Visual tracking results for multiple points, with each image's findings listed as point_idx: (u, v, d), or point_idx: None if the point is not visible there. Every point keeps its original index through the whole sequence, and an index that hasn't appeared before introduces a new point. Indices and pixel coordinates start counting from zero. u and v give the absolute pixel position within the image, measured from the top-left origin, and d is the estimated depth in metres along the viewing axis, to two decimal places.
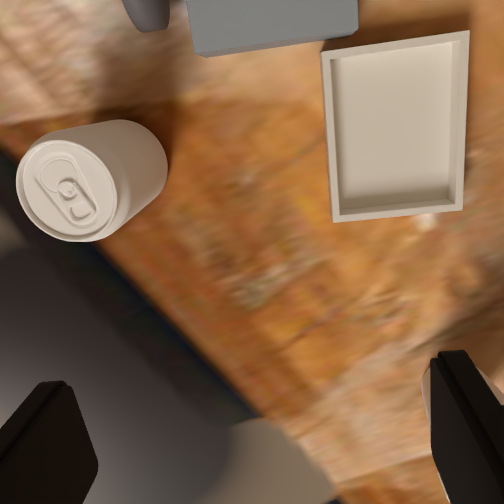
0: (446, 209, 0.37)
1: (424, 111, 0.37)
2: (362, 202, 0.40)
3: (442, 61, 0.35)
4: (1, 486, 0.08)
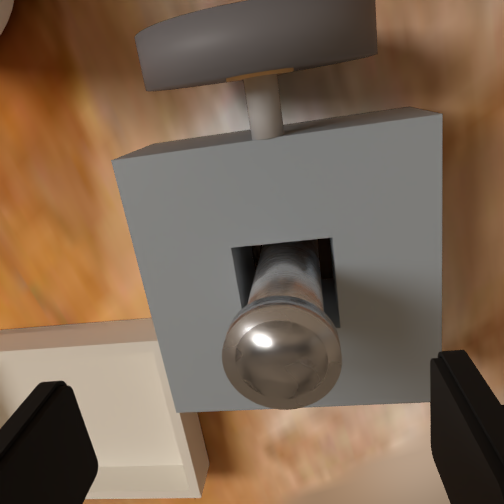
0: None
1: (115, 441, 0.28)
2: None
3: (174, 456, 0.28)
4: (1, 486, 0.08)
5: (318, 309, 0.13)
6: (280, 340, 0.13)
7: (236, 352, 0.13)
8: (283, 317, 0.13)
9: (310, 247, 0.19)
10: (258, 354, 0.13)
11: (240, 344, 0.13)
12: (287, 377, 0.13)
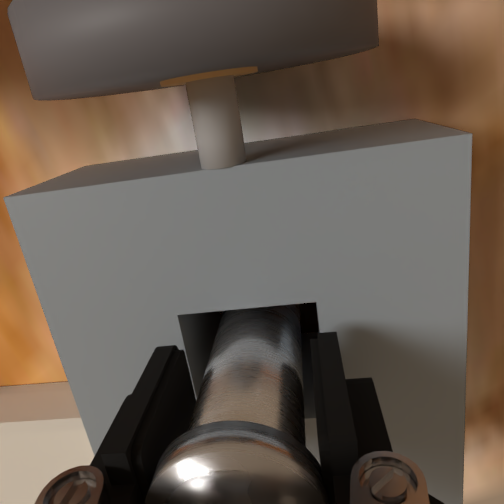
0: None
1: None
2: None
3: None
4: (153, 431, 0.09)
5: (293, 443, 0.08)
6: (232, 499, 0.08)
7: None
8: (238, 463, 0.08)
9: (287, 305, 0.14)
10: None
11: (171, 501, 0.08)
12: None
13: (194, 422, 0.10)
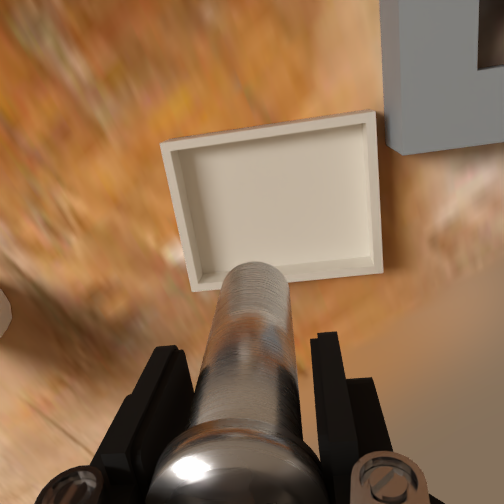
0: (190, 275, 0.32)
1: (299, 237, 0.32)
2: (189, 178, 0.31)
3: (351, 249, 0.32)
4: (153, 431, 0.09)
5: (293, 438, 0.08)
6: (233, 495, 0.08)
7: None
8: (238, 460, 0.08)
9: (280, 303, 0.15)
10: None
11: (171, 501, 0.08)
12: None
13: (192, 421, 0.10)
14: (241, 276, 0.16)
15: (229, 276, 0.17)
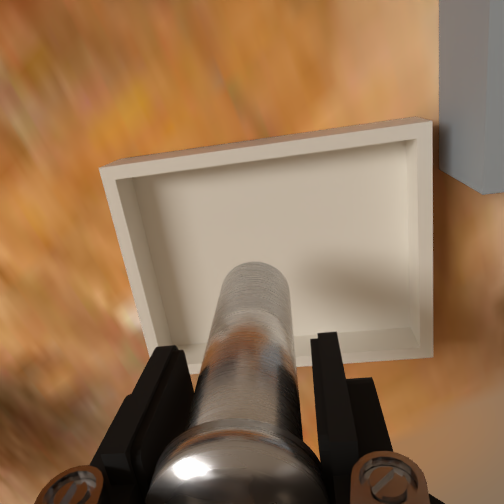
0: None
1: (309, 299, 0.22)
2: (150, 216, 0.22)
3: (383, 317, 0.22)
4: (153, 431, 0.09)
5: (293, 439, 0.08)
6: (233, 496, 0.08)
7: None
8: (238, 460, 0.08)
9: (280, 304, 0.15)
10: None
11: (171, 501, 0.08)
12: None
13: (192, 422, 0.10)
14: (241, 276, 0.16)
15: (229, 276, 0.17)
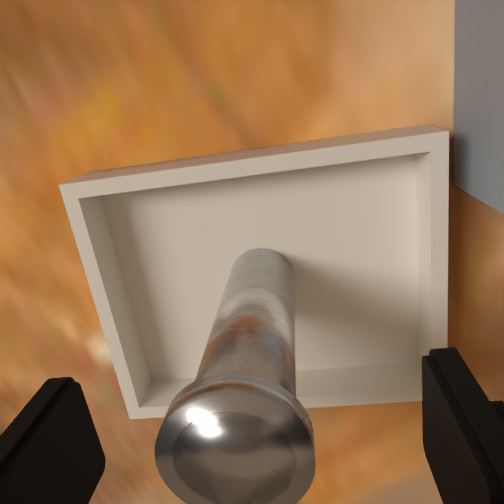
0: (126, 395, 0.20)
1: (304, 331, 0.20)
2: (122, 237, 0.19)
3: (389, 351, 0.20)
4: (12, 480, 0.09)
5: (283, 391, 0.10)
6: (231, 437, 0.09)
7: (174, 450, 0.10)
8: (236, 406, 0.09)
9: (282, 285, 0.16)
10: (204, 453, 0.10)
11: (178, 441, 0.10)
12: (243, 481, 0.10)
13: (198, 379, 0.11)
14: (248, 260, 0.17)
15: (237, 261, 0.18)
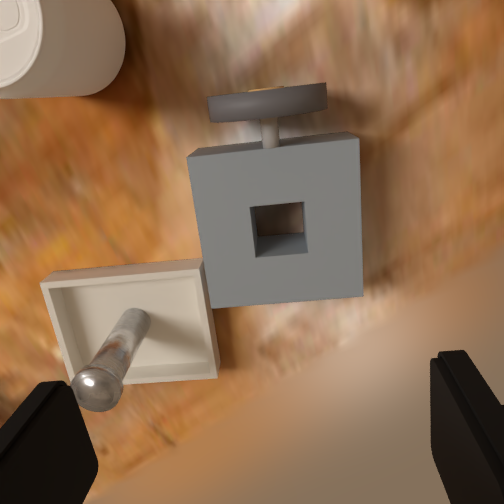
0: (70, 376, 0.41)
1: (157, 346, 0.41)
2: (69, 301, 0.40)
3: (198, 356, 0.41)
4: (1, 486, 0.08)
5: (110, 370, 0.31)
6: (93, 383, 0.31)
7: (76, 388, 0.31)
8: (94, 374, 0.31)
9: (135, 328, 0.37)
10: (85, 389, 0.31)
11: (77, 385, 0.31)
12: (98, 398, 0.31)
13: None
14: (125, 315, 0.39)
15: (122, 314, 0.40)
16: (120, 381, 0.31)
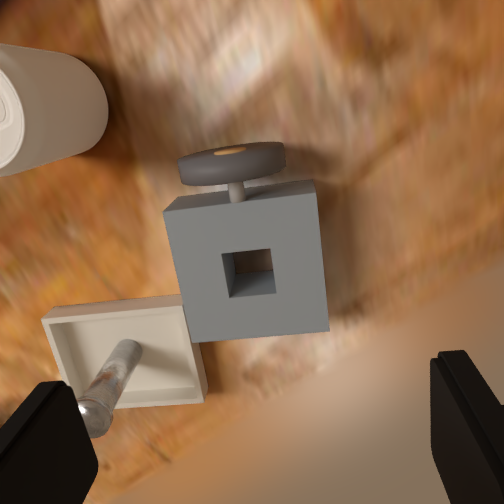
0: None
1: (150, 372, 0.45)
2: (69, 333, 0.44)
3: (187, 381, 0.45)
4: (1, 486, 0.08)
5: (101, 400, 0.35)
6: (85, 413, 0.35)
7: None
8: (86, 405, 0.35)
9: (127, 358, 0.41)
10: None
11: None
12: (91, 426, 0.35)
13: None
14: (118, 346, 0.43)
15: (116, 345, 0.43)
16: (110, 410, 0.35)
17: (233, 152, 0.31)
